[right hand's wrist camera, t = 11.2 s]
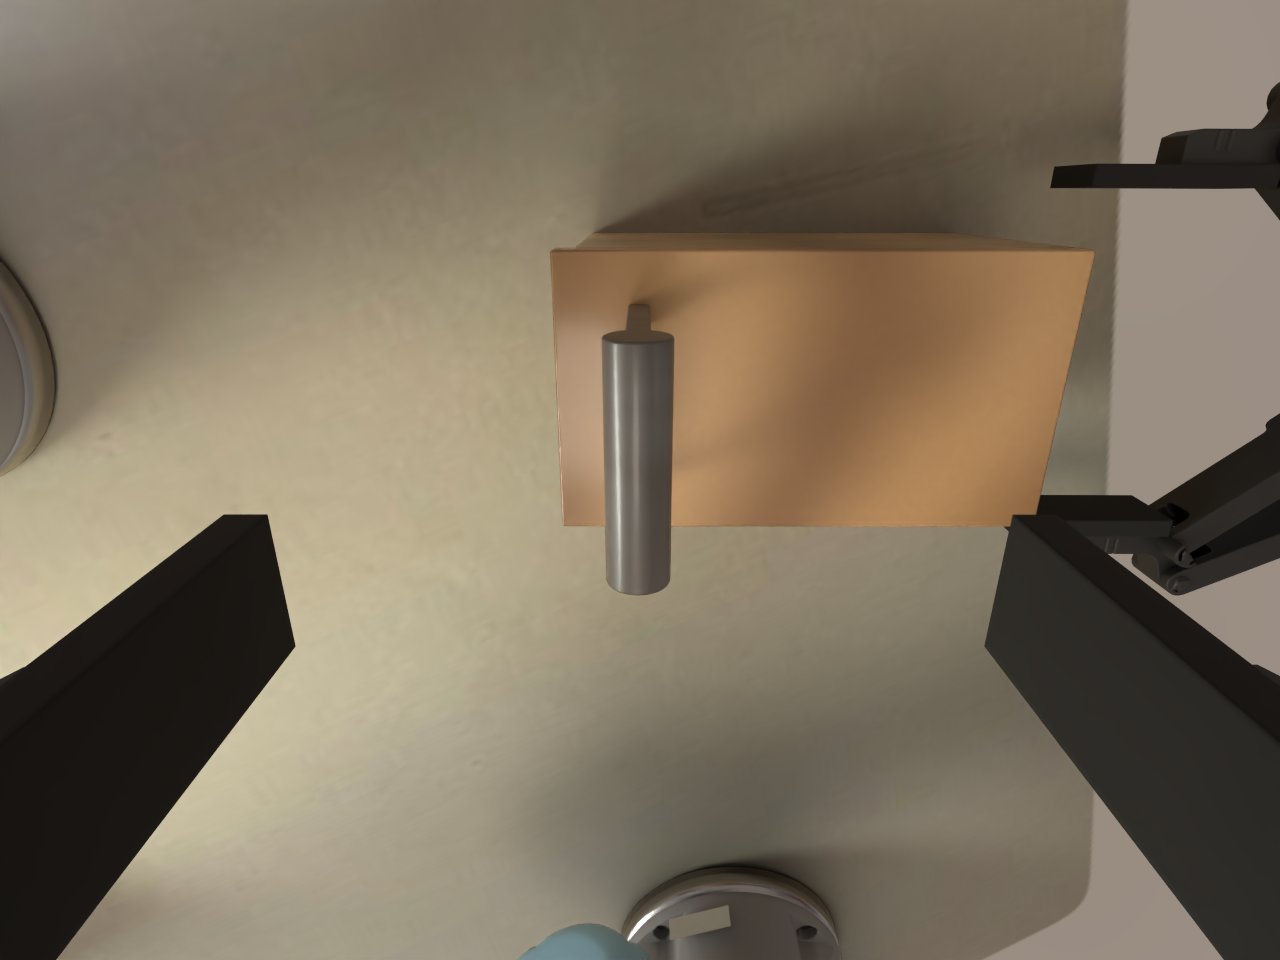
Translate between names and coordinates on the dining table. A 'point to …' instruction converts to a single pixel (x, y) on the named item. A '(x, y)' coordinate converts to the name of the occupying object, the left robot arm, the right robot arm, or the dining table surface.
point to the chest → (800, 240)
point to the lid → (805, 388)
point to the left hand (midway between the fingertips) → (1032, 360)
